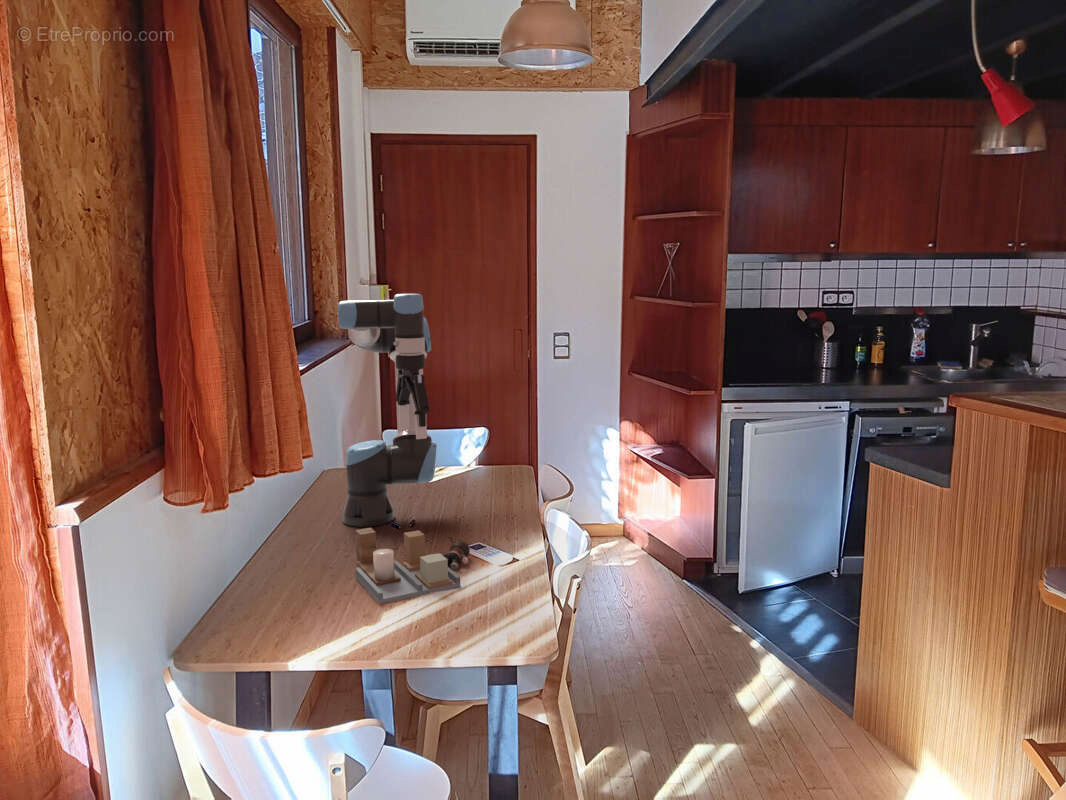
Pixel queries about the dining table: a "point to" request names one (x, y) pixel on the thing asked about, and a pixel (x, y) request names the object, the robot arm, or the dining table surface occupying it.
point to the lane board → (408, 575)
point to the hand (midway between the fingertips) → (412, 433)
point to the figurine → (457, 554)
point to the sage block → (434, 568)
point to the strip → (369, 555)
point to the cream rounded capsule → (383, 564)
